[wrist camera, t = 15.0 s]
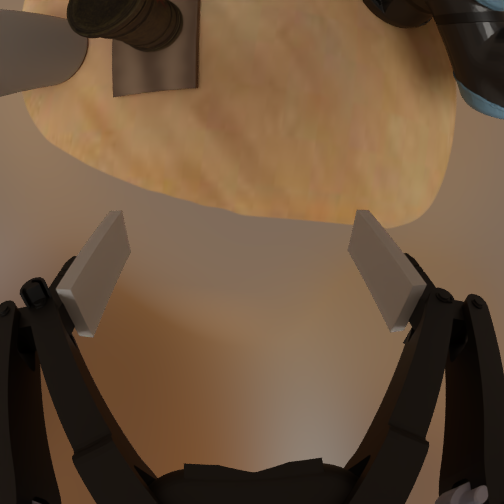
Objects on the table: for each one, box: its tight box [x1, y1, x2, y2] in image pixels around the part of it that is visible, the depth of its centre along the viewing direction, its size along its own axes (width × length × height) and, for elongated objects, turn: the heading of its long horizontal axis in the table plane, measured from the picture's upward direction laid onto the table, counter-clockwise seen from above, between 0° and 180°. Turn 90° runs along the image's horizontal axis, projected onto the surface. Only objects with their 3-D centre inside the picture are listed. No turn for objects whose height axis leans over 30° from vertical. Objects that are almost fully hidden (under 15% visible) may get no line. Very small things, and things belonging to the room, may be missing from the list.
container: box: [67, 0, 183, 52], centre depth 22 cm, size 9×9×18 cm
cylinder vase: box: [0, 9, 87, 97], centre depth 20 cm, size 12×12×25 cm
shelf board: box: [112, 0, 200, 97], centre depth 30 cm, size 13×22×3 cm, turn 178°
